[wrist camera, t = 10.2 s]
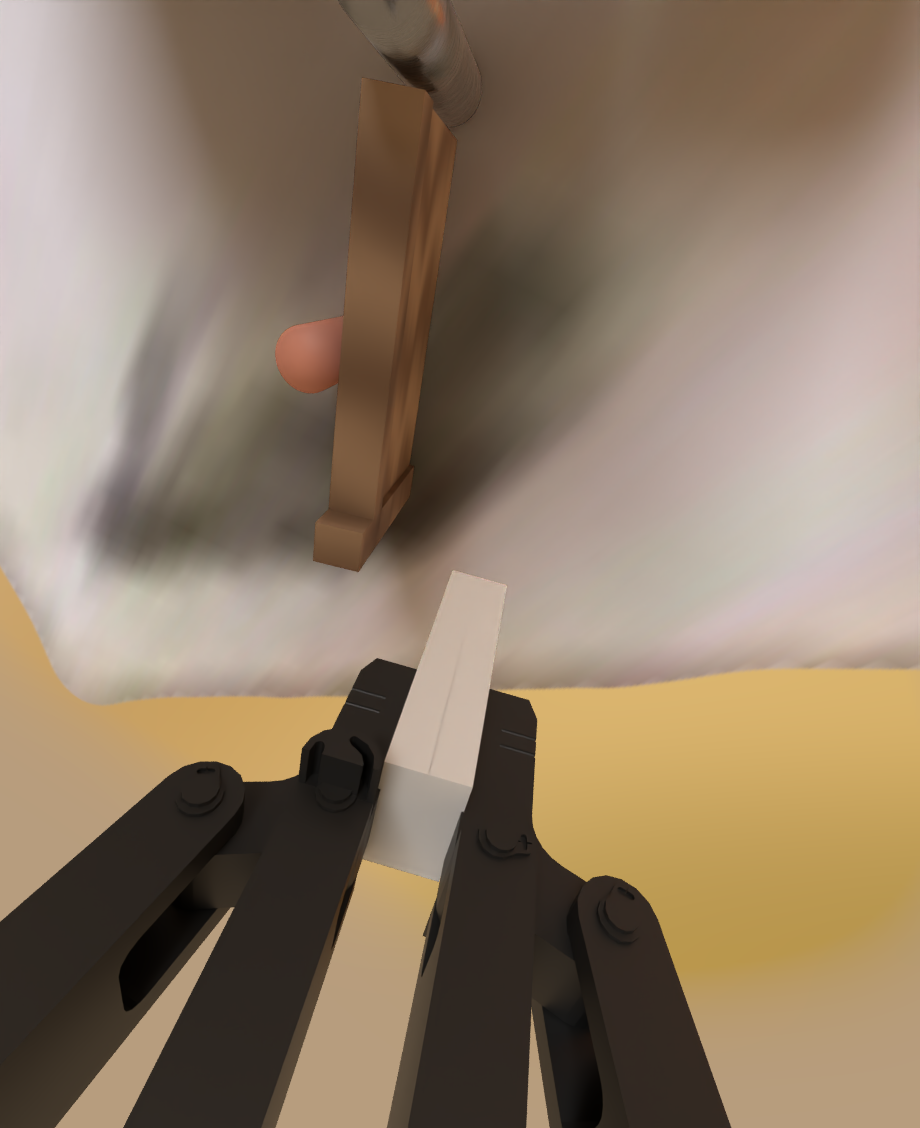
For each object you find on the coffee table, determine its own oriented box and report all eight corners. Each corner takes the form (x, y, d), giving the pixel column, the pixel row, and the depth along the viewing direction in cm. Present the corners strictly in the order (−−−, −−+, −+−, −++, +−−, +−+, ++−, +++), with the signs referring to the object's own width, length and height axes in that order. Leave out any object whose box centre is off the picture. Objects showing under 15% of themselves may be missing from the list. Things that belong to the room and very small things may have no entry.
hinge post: (412, 107, 26) (315, -2, 16) (438, 36, 25) (350, -134, 15) (464, 138, 27) (402, 51, 16) (492, 69, 25) (444, -75, 15)
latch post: (322, 354, 32) (267, 373, 26) (340, 304, 31) (286, 311, 25) (369, 380, 33) (324, 405, 27) (388, 331, 31) (347, 345, 25)
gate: (417, 132, 26) (345, 61, 17) (463, 141, 26) (414, 75, 17) (375, 488, 35) (313, 560, 26) (409, 496, 35) (358, 571, 26)
